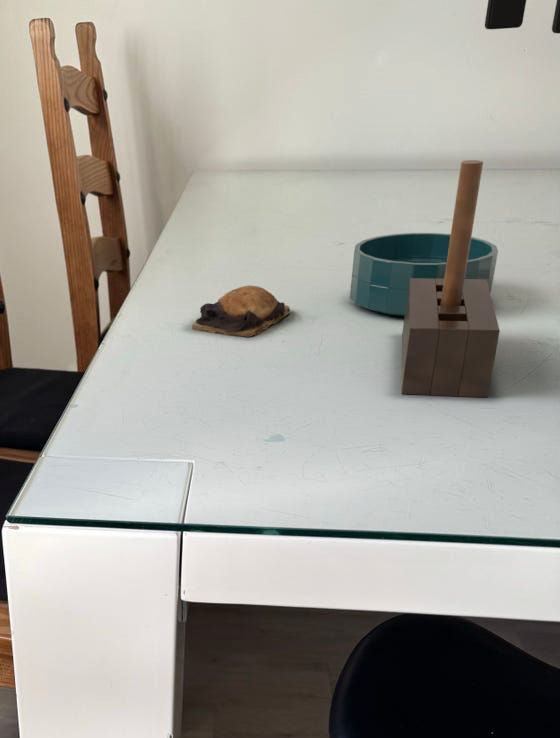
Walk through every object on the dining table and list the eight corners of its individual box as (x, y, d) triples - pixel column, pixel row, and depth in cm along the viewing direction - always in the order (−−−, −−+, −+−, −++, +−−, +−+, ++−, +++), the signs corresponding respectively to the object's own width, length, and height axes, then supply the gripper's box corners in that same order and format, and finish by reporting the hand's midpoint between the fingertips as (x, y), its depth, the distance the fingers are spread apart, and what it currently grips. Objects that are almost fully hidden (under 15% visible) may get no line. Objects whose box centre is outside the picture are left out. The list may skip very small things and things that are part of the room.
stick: (450, 362, 97) (482, 159, 88) (451, 368, 96) (483, 163, 86) (431, 361, 98) (460, 160, 88) (431, 367, 96) (461, 163, 86)
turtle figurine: (231, 305, 118) (232, 273, 116) (296, 314, 114) (299, 280, 112) (184, 328, 111) (184, 294, 109) (252, 338, 107) (253, 303, 105)
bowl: (483, 286, 119) (492, 233, 116) (492, 323, 107) (502, 265, 104) (352, 284, 123) (357, 232, 120) (346, 319, 111) (351, 263, 107)
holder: (476, 339, 103) (486, 279, 100) (487, 397, 89) (499, 330, 86) (401, 337, 105) (409, 277, 101) (401, 394, 91) (410, 328, 88)
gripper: (718, -277, 65) (647, 31, 74) (561, -229, 79) (518, 24, 89) (613, -275, 64) (555, 37, 73) (473, -227, 78) (440, 29, 88)
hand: (535, 30), depth 81 cm, fingers open, 9 cm apart
